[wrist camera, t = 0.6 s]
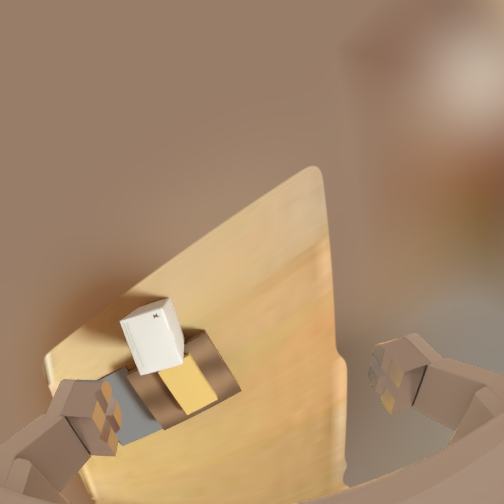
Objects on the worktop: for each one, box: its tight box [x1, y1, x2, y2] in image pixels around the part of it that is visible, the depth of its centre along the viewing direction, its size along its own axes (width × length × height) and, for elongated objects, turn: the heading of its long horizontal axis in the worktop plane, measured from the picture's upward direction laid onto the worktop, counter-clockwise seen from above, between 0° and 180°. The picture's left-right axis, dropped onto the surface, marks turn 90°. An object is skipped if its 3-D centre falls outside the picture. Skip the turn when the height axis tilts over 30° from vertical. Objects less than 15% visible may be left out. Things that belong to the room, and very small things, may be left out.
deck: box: [126, 330, 241, 430], centre depth 50 cm, size 12×16×4 cm
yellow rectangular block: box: [158, 353, 218, 415], centre depth 48 cm, size 9×6×2 cm, turn 30°
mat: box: [100, 366, 163, 446], centre depth 50 cm, size 14×11×1 cm
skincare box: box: [120, 298, 185, 375], centre depth 45 cm, size 8×7×16 cm
